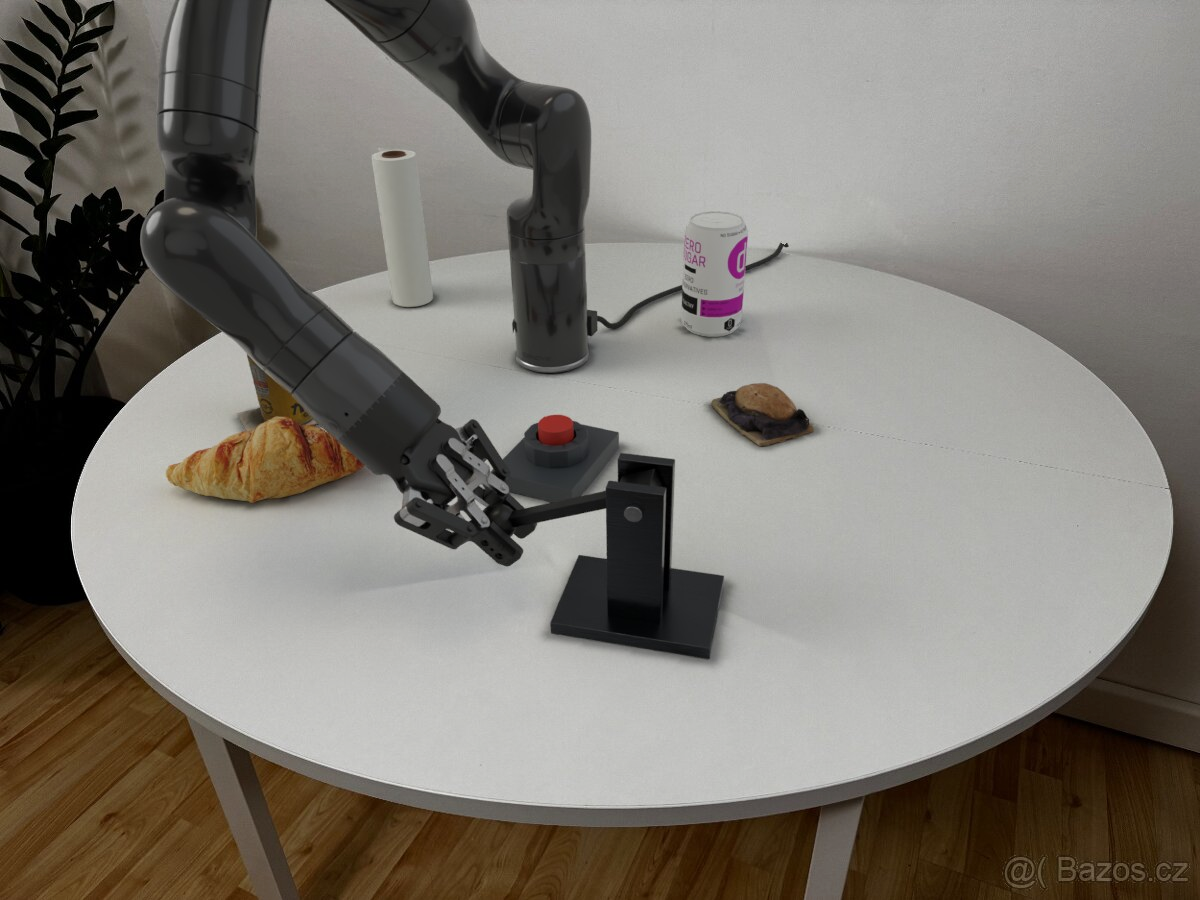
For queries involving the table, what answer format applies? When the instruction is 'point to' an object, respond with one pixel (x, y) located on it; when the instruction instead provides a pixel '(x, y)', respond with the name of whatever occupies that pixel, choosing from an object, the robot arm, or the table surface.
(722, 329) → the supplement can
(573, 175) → the robot arm
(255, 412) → the condiment
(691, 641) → the bracket
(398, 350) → the table surface
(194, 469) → the croissant
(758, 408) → the brown rounded layered piece
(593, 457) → the control block
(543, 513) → the lever
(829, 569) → the table surface
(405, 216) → the paper towel roll
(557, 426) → the button
